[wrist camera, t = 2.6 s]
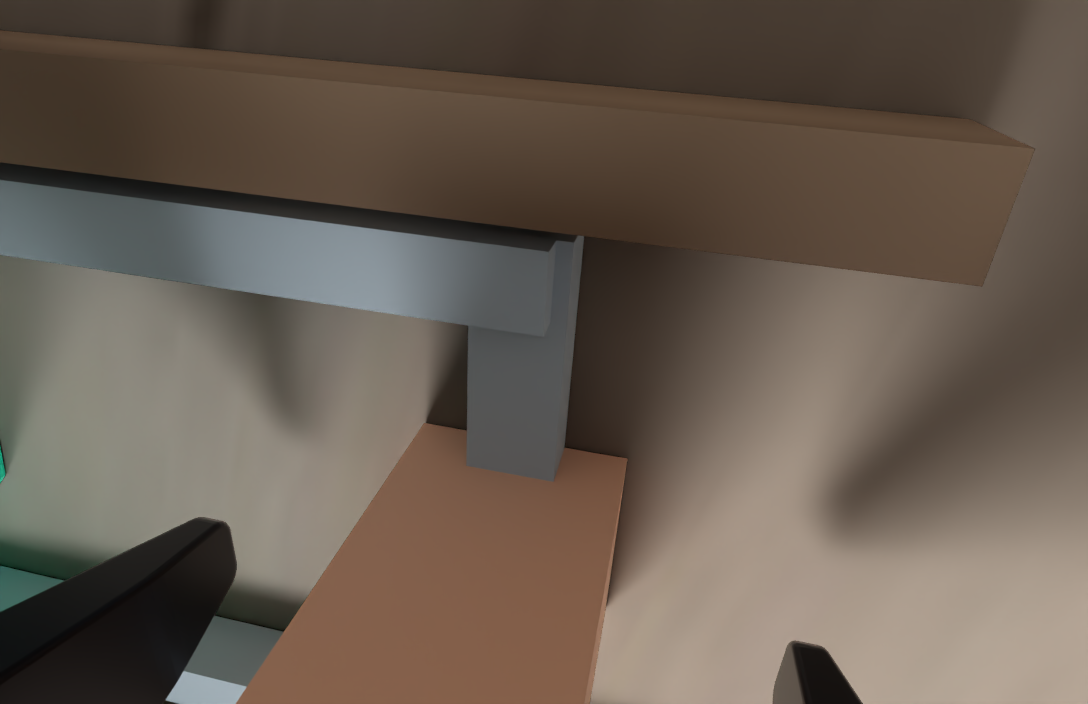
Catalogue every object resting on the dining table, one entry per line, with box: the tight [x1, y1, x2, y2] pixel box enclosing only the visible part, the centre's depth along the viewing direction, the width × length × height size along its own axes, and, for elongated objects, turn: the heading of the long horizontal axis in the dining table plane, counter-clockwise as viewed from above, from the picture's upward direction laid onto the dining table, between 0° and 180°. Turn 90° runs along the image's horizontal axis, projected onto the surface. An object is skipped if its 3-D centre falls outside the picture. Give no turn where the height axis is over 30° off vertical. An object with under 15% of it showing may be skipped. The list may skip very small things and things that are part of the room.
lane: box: [0, 30, 1035, 704], centre depth 11 cm, size 13×25×2 cm, turn 87°
